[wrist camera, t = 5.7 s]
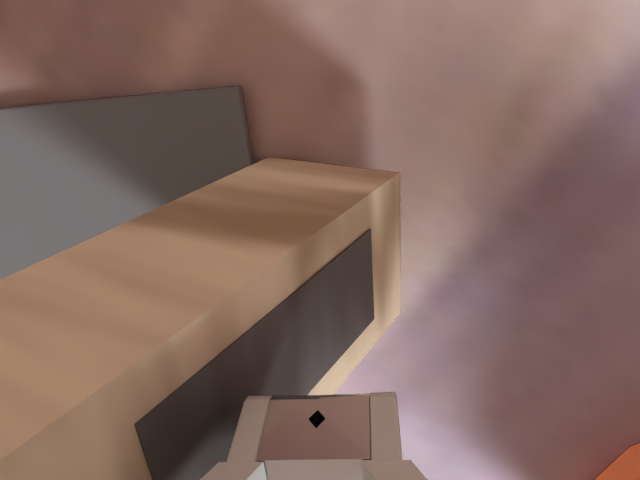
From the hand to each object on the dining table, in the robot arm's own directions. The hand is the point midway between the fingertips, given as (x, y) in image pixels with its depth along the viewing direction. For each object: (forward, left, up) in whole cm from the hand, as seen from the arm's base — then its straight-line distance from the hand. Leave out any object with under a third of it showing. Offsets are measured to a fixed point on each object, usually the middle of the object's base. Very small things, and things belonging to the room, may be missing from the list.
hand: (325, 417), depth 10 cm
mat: (0, -9, -9) cm, 13 cm away
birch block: (0, 0, -8) cm, 8 cm away
